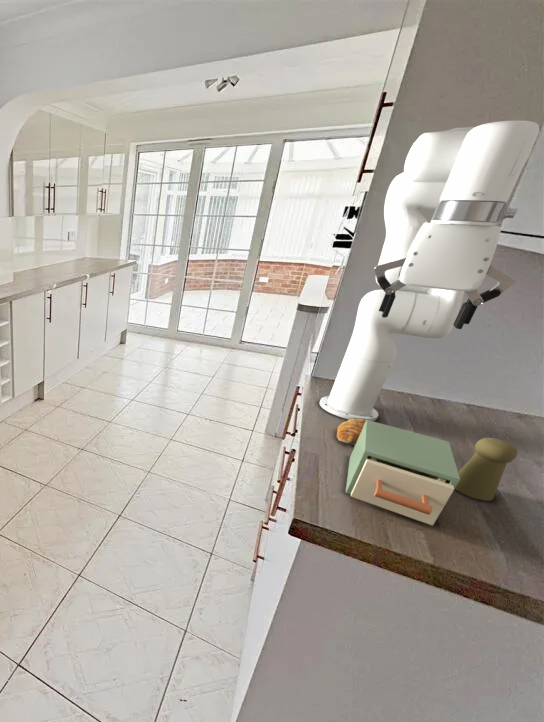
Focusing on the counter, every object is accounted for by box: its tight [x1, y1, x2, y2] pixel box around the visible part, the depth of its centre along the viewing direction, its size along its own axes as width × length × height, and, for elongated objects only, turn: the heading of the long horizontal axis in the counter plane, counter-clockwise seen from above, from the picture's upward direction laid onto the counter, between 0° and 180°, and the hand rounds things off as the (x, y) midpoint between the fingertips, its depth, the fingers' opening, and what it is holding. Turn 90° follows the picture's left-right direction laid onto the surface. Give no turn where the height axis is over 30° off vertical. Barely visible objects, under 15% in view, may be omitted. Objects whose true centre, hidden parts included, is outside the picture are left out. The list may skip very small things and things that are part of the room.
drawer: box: [350, 456, 455, 526], centre depth 73 cm, size 18×11×8 cm, turn 142°
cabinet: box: [345, 420, 460, 521], centre depth 77 cm, size 15×13×10 cm
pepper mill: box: [454, 437, 518, 502], centre depth 77 cm, size 6×6×11 cm
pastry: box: [336, 419, 366, 447], centre depth 94 cm, size 9×7×4 cm
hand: (419, 321), depth 71 cm, fingers open, 9 cm apart
